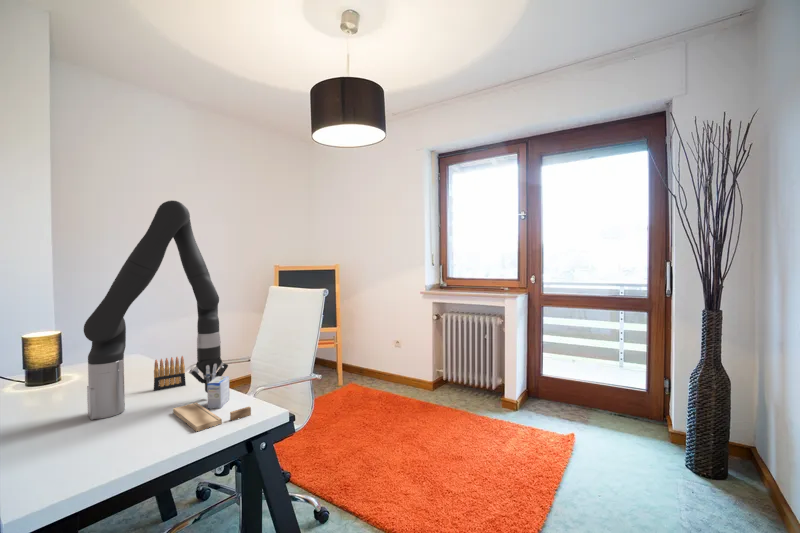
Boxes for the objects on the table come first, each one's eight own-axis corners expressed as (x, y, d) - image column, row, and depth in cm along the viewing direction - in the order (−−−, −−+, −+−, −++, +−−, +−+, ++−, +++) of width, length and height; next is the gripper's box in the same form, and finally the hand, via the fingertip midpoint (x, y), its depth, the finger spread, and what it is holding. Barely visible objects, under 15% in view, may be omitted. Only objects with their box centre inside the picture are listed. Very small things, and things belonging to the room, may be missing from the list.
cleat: (231, 420, 114) (231, 413, 114) (230, 419, 115) (230, 412, 115) (250, 414, 119) (250, 407, 119) (249, 413, 120) (249, 406, 120)
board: (196, 431, 107) (196, 426, 107) (173, 413, 121) (173, 408, 121) (221, 423, 112) (221, 418, 112) (196, 406, 127) (196, 402, 127)
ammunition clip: (154, 391, 144) (153, 360, 144) (153, 390, 145) (153, 359, 145) (185, 385, 150) (185, 355, 150) (185, 384, 152) (184, 354, 152)
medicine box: (216, 400, 132) (216, 376, 132) (229, 400, 133) (229, 375, 133) (207, 409, 124) (206, 383, 124) (221, 408, 125) (220, 382, 125)
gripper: (223, 340, 142) (224, 386, 142) (185, 346, 132) (186, 395, 132) (231, 343, 137) (232, 390, 137) (192, 349, 127) (193, 400, 127)
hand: (209, 392), depth 134 cm, fingers closed
